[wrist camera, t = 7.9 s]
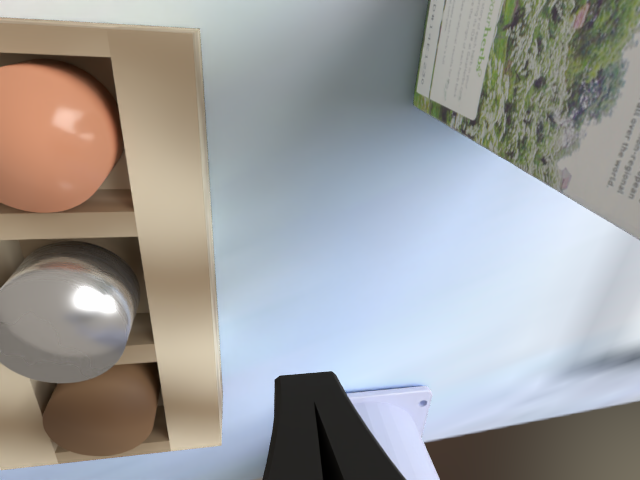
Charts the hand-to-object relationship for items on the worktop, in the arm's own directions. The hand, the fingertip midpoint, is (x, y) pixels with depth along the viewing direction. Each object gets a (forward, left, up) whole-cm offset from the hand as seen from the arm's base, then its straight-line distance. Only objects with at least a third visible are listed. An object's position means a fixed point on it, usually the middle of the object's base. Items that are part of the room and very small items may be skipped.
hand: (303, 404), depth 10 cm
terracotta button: (+5, +7, -8) cm, 12 cm away
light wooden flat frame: (-1, +7, -9) cm, 12 cm away
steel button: (-1, +7, -7) cm, 10 cm away
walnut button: (-7, +7, -8) cm, 13 cm away
